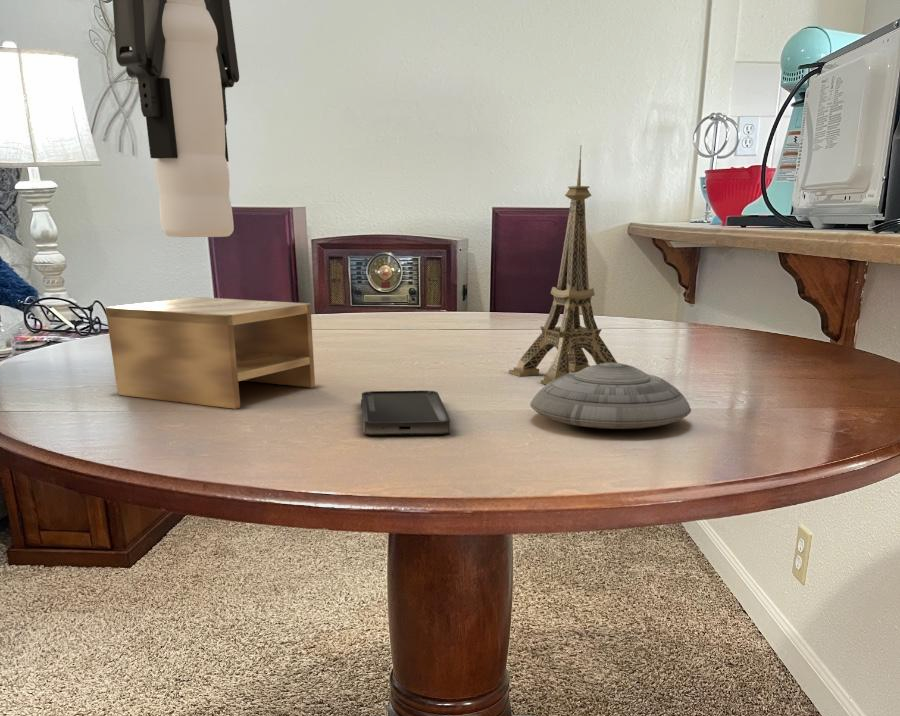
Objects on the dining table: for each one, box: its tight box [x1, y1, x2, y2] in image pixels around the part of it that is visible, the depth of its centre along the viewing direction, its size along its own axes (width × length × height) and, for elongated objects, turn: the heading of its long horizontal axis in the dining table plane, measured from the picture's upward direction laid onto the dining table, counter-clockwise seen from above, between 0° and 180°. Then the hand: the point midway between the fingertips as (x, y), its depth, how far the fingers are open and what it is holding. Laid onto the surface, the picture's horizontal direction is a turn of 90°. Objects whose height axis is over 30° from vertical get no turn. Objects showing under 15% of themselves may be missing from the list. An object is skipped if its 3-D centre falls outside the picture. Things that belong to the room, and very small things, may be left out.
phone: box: [360, 390, 451, 436], centre depth 85 cm, size 8×1×15 cm
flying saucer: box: [529, 362, 692, 430], centre depth 83 cm, size 15×15×6 cm
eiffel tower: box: [508, 144, 618, 385], centre depth 102 cm, size 11×11×25 cm
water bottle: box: [154, 0, 235, 238], centre depth 85 cm, size 7×7×25 cm
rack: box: [105, 296, 316, 410], centre depth 96 cm, size 16×14×9 cm
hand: (190, 159), depth 87 cm, fingers closed on water bottle, 7 cm apart
